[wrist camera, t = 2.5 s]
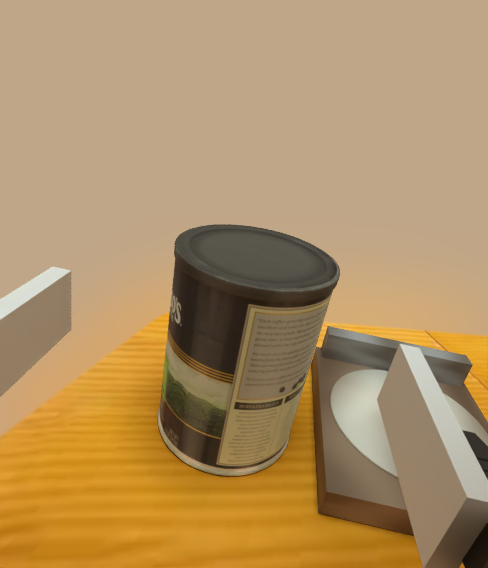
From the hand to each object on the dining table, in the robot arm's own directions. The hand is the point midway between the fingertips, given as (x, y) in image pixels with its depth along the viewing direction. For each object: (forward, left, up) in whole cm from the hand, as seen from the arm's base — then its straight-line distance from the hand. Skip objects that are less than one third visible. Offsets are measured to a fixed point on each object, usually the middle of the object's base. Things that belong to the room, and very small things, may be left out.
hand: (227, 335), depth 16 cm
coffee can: (0, -10, -14) cm, 17 cm away
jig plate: (-14, -12, -14) cm, 23 cm away
